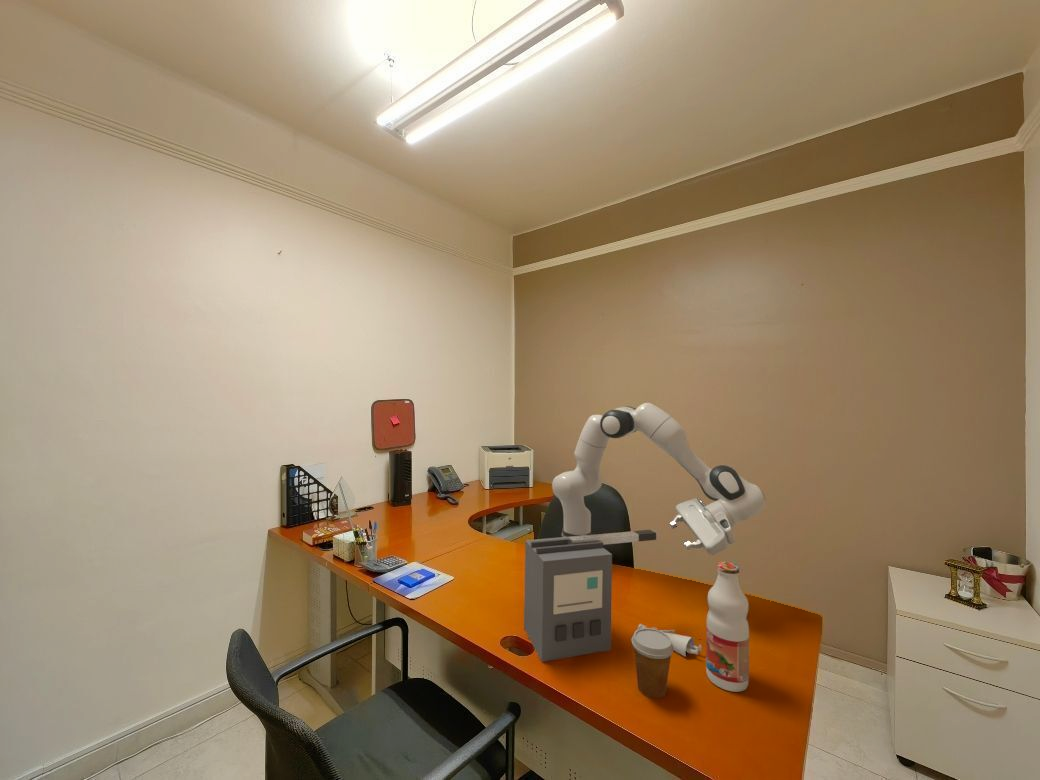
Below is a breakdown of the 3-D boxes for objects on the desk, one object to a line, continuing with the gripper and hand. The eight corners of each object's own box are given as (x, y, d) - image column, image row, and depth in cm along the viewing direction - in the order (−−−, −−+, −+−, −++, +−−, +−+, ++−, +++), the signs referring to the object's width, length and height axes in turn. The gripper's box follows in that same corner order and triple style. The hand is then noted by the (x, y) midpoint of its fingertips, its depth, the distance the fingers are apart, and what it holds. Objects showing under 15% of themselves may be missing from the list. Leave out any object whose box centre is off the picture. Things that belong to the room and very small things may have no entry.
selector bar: (567, 543, 119) (568, 536, 119) (651, 536, 127) (651, 529, 127) (572, 547, 116) (572, 540, 116) (657, 539, 124) (657, 532, 124)
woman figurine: (690, 651, 105) (627, 627, 118) (691, 669, 105) (628, 643, 117) (707, 633, 113) (647, 612, 126) (708, 650, 113) (647, 627, 126)
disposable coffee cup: (671, 679, 101) (671, 630, 101) (674, 708, 91) (675, 653, 92) (631, 672, 103) (631, 624, 103) (630, 698, 94) (631, 646, 94)
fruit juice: (757, 693, 96) (758, 573, 97) (717, 693, 96) (718, 573, 97) (735, 667, 106) (736, 558, 106) (699, 666, 106) (700, 557, 106)
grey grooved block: (523, 628, 122) (525, 535, 122) (585, 619, 127) (586, 530, 128) (543, 664, 106) (544, 557, 106) (612, 652, 111) (613, 550, 112)
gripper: (696, 490, 141) (660, 508, 141) (734, 533, 122) (692, 553, 123) (700, 502, 143) (664, 520, 144) (738, 546, 125) (697, 566, 125)
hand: (677, 536), depth 133 cm, fingers open, 8 cm apart
